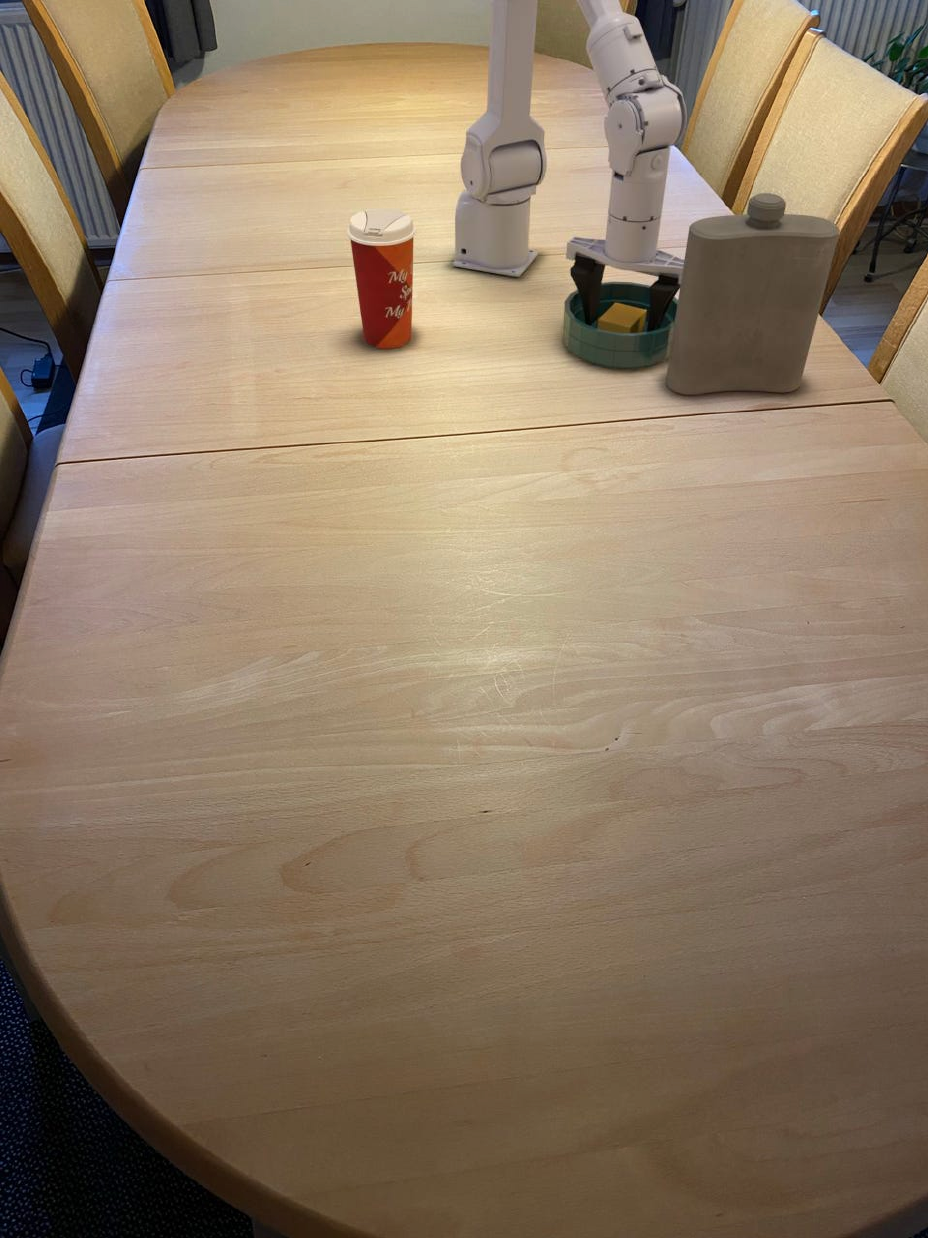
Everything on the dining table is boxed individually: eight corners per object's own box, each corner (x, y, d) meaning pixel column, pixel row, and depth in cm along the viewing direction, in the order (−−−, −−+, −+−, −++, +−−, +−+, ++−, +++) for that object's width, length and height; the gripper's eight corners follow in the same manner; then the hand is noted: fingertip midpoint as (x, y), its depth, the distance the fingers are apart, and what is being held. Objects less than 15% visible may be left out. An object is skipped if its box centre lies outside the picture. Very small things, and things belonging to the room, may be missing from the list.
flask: (790, 367, 113) (834, 186, 99) (805, 393, 109) (854, 208, 95) (659, 370, 112) (686, 189, 99) (670, 396, 108) (699, 211, 95)
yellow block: (595, 343, 116) (598, 319, 114) (612, 325, 119) (615, 302, 117) (627, 351, 115) (630, 327, 112) (643, 333, 118) (647, 309, 116)
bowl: (546, 358, 114) (548, 322, 111) (581, 308, 124) (584, 273, 121) (662, 381, 111) (667, 344, 108) (689, 328, 120) (695, 292, 117)
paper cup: (411, 355, 115) (406, 235, 105) (347, 349, 116) (336, 230, 107) (426, 324, 121) (423, 208, 111) (365, 319, 122) (357, 203, 112)
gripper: (712, 212, 107) (692, 329, 116) (588, 187, 112) (579, 302, 121) (689, 235, 102) (670, 355, 111) (561, 208, 107) (553, 325, 117)
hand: (621, 329), depth 116 cm, fingers open, 7 cm apart
